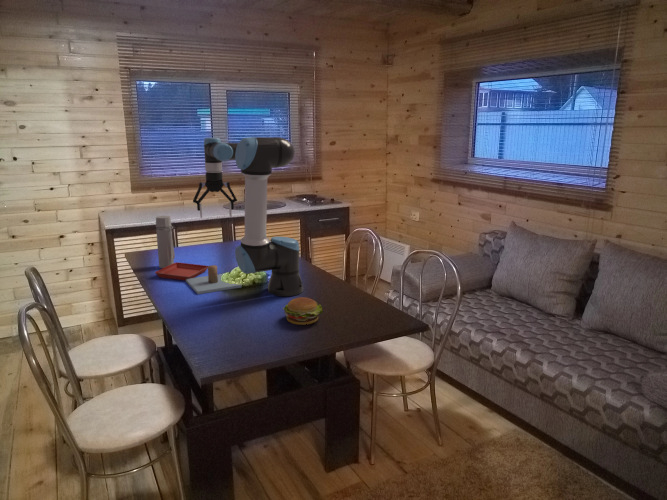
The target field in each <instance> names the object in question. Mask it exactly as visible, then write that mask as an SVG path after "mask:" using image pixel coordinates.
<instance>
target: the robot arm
mask: <svg viewBox="0 0 667 500" xmlns="http://www.w3.org/2000/svg"><path fill="white" fill-rule="evenodd" d="M203 142H204V143H203V147H204V148H203V149H204V150H203V151H204V170H205V182H201V181H200V182H199V185H198V189H197V191H196V193H195V194H194V196H193V197H194V198H193V200H192V203H194V204H196V208H197V211H198V212H199V217H200V219H202V218H203V213H202V212H203V211H202V209H203V208H202V201H203V200H204V199H205V198H206V196H207V194H209V193H210V192H211V193H219V192H221V193H222V194H223V196H224V197H225V198H227V200H228V201H229V202H228V208H229V209H228V210H229V211H228V212H229V217H230V218H231V217H232V210H234V208H235V207H234V206H235V205H234V204H235V202H237V201H238V199H237V197H236V195H235V193H234V192H233V189H232V188H231V185H230V182H229V181H226V182H224V181H223V172H222V171H223V166H222V165H223V163H222V162H227V161H235V166H236V167H237V169H238V170H240V174H241V175H242V176H244V236H242V237H241V238H240V245H237V246H236V247H235V250H234V254H235V255H234V256H235V260H236V264H237V266H238V268H239V270H240V271H241V272H242V273H243V274H245V275H247V274H257V273H261V272H268V271H271V274H270V278H269V281H268V284H267V292H268V293H269V294H271V295H273V296H275V297H276V296H277V297H294V296H297V295H300V294H302V293H303V292H304V284H303V282H302V278H301V275H300V243H299V241H298V240H297V239H295V238H292V237H286V236H272V237H270V238H268V236H267V219H268V215H267V214H268V213H267V212H268V208H267V207H268V178H269V177H270V176H271V175H272V172H273V171H272V169H278V168H283V167H286V166H288V165H290V163H292V161H293V160H294V157H295V148H294V145H293V144H292V142H290V141H289V140H288V139H286V138H283V137H274V136H273V137H269V136H268V137H267V136H266V137H263V136H262V137H261V136H259V137H255V136H251V137H245V138H244V137H243V138H242V139H240V141H238V142H222V140H221V138H219V137H205V138H204V140H203ZM224 186H225V187H226V188H227V190H228V191H229V193H230V195H231V197H230V195H228V194H227V192H226V191H225V190H224V189H223V187H224ZM204 187H206V189H205V190H204V192H203V193H202V195H201V196H200V197H199V195H200V193H201V191H202V190H203V189H202V188H204ZM198 197H199V198H198ZM232 198H233V199H232Z"/></svg>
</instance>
